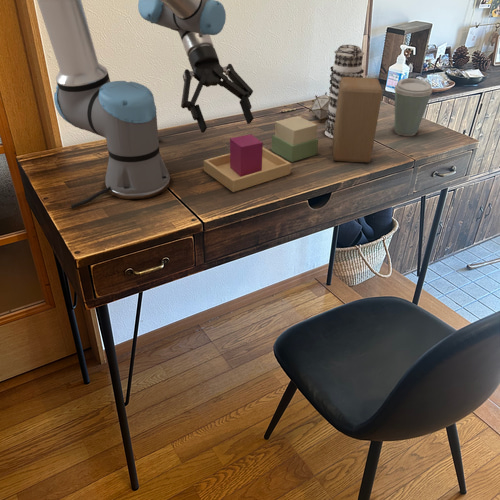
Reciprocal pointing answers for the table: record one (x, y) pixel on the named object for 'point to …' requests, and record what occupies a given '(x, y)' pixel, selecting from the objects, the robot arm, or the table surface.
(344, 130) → the wooden block
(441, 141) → the table surface
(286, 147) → the sage block
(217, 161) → the tray
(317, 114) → the game die
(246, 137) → the mulberry block
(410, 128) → the disposable coffee cup
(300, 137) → the cream block
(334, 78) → the leaning tower model
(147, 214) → the table surface
